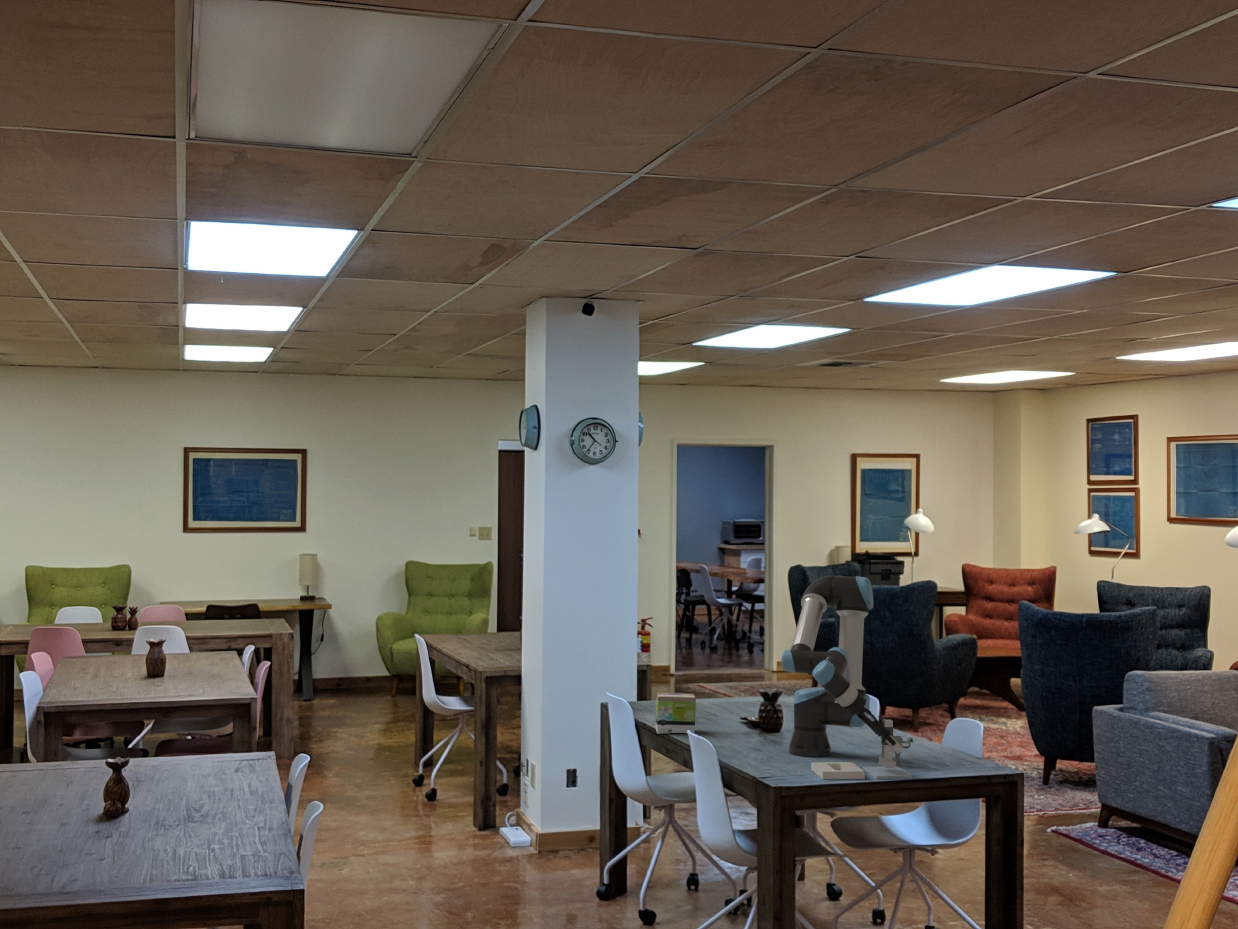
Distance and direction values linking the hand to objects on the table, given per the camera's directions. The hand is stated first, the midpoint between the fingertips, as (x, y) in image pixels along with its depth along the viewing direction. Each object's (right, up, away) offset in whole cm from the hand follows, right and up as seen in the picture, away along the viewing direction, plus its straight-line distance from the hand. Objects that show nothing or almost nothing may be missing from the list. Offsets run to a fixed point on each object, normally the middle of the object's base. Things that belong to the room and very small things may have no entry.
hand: (898, 749), depth 387 cm
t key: (-4, -5, -1) cm, 6 cm away
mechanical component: (+3, -9, +13) cm, 16 cm away
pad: (-4, -8, -1) cm, 9 cm away
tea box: (-71, -10, +69) cm, 100 cm away
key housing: (-21, -8, -2) cm, 22 cm away
